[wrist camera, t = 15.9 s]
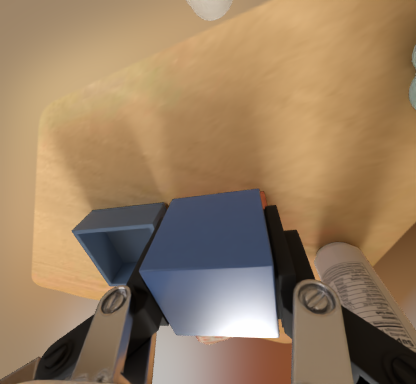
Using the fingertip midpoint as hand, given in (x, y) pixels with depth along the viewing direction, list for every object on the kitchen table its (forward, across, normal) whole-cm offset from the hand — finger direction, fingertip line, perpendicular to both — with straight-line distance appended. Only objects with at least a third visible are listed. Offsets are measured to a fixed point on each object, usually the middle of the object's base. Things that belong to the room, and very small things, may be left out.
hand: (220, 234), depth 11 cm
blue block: (+1, 0, 0) cm, 1 cm away
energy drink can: (+14, -12, +18) cm, 25 cm away
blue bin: (+13, +15, +12) cm, 23 cm away
